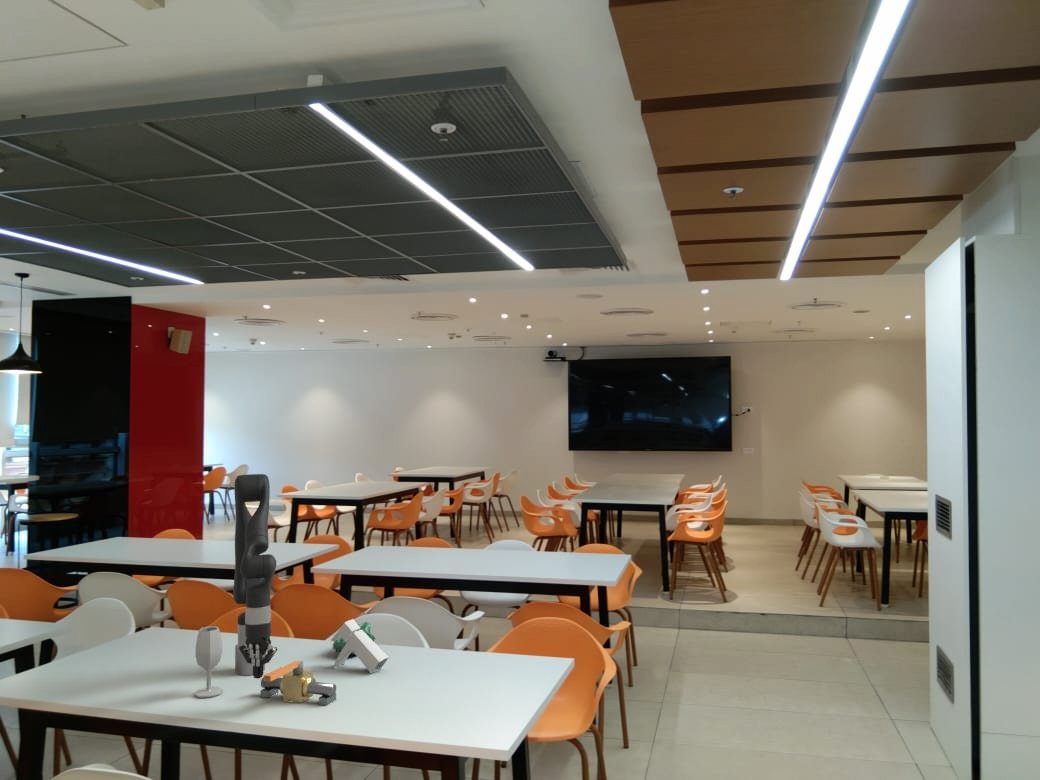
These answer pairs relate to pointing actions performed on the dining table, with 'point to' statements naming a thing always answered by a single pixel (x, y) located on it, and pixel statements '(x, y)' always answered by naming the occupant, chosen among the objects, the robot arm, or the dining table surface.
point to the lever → (285, 670)
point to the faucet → (359, 647)
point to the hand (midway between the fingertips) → (258, 677)
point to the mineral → (341, 643)
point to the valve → (299, 688)
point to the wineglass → (208, 657)
